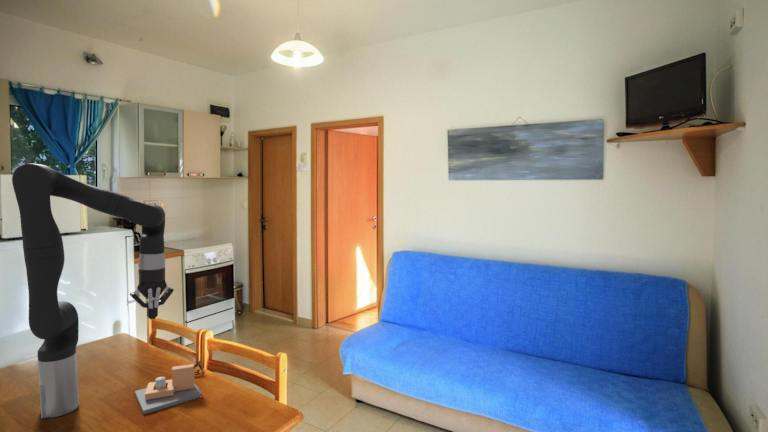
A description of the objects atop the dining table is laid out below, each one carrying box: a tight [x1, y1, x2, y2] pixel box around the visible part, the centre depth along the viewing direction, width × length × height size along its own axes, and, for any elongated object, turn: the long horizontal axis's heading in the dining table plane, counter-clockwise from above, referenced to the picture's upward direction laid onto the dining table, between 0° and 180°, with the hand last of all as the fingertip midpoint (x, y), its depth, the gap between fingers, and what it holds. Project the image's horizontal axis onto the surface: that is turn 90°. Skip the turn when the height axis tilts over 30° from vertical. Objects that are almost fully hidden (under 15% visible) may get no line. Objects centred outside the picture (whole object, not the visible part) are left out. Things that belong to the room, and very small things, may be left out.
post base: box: [134, 376, 203, 415], centre depth 139 cm, size 17×15×6 cm
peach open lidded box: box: [145, 363, 195, 400], centre depth 139 cm, size 14×8×8 cm, turn 112°
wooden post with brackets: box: [194, 360, 204, 374], centre depth 154 cm, size 2×8×4 cm, turn 147°
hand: (152, 318), depth 138 cm, fingers closed
